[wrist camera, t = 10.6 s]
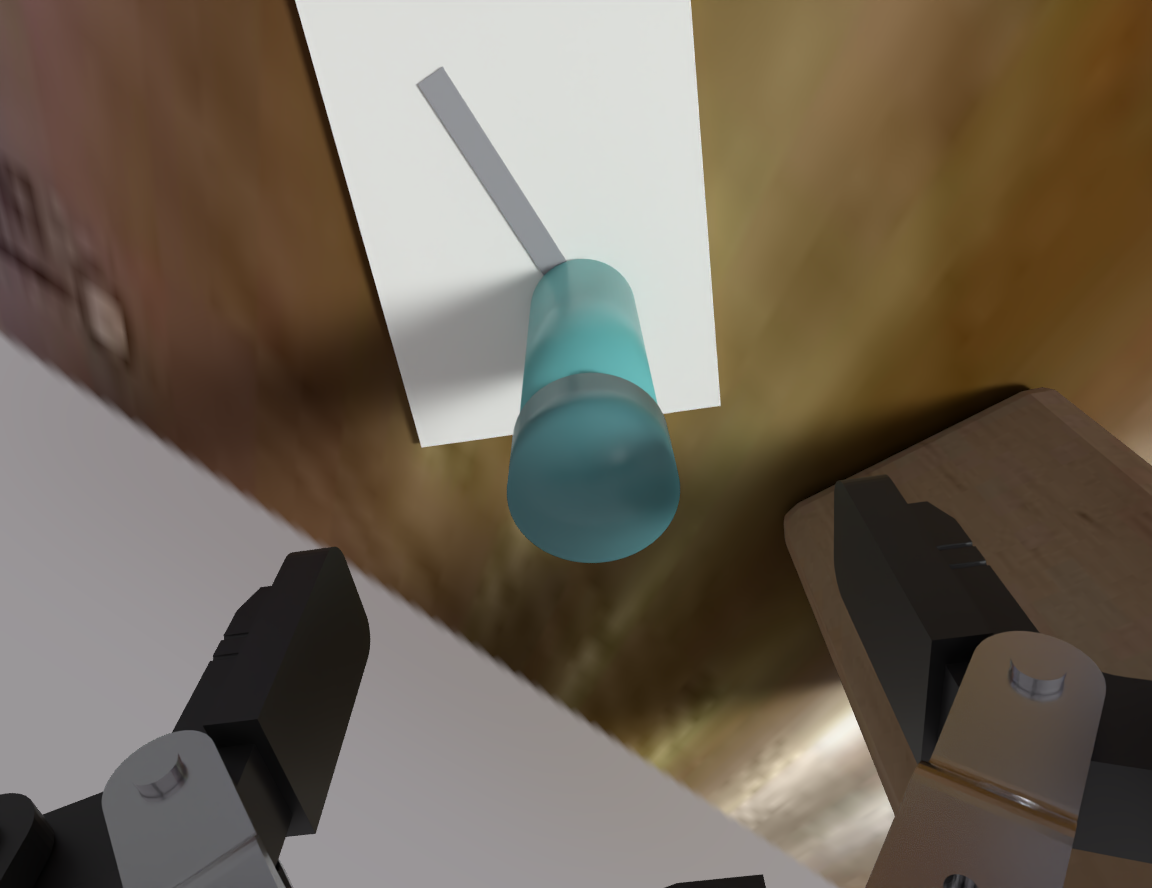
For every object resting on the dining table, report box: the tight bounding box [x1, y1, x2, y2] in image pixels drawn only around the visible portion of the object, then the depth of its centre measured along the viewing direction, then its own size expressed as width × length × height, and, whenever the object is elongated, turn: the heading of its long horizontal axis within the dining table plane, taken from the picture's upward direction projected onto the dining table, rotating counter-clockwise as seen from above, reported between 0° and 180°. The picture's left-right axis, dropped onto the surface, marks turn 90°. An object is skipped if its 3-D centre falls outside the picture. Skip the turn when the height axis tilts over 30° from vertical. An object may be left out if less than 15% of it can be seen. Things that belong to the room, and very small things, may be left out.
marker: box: [507, 259, 680, 563], centre depth 20 cm, size 3×3×10 cm
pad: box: [295, 0, 721, 447], centre depth 23 cm, size 15×10×1 cm, turn 9°
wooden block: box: [784, 387, 1152, 888], centre depth 20 cm, size 10×10×20 cm
